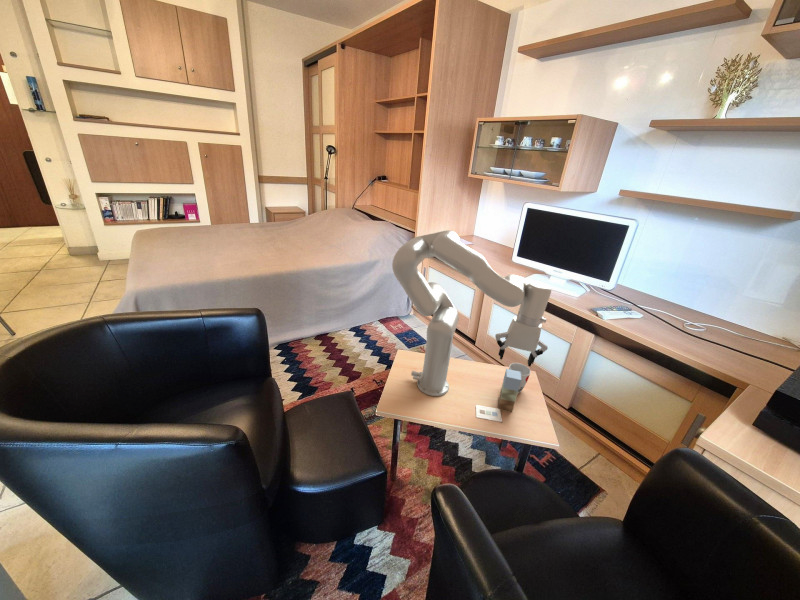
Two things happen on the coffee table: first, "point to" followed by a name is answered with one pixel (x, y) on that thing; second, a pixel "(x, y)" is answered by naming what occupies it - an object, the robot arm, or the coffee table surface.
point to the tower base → (505, 404)
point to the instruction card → (488, 413)
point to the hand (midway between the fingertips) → (514, 360)
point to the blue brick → (512, 379)
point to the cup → (524, 373)
